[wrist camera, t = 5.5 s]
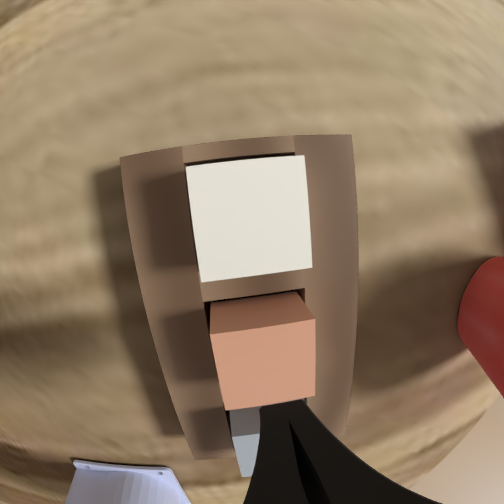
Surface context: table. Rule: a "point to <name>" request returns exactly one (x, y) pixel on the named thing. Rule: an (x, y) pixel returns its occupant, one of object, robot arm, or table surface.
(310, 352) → the terracotta key
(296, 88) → the table surface
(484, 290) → the flower pot
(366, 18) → the table surface
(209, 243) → the ivory key
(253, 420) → the slate key
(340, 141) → the key frame
